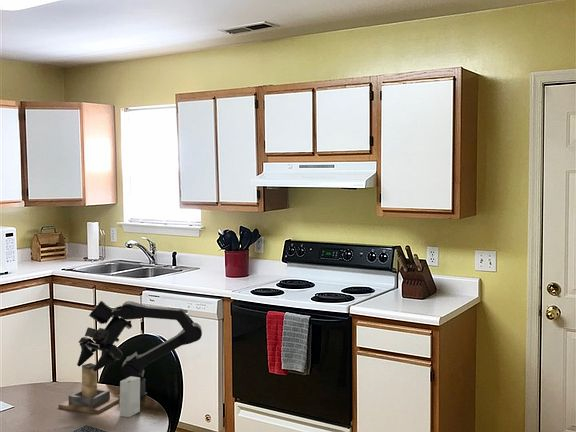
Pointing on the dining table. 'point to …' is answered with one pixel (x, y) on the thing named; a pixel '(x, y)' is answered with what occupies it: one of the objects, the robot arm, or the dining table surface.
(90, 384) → the beige tall block
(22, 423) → the dining table surface
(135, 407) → the skincare box
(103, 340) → the robot arm
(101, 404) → the peg socket base
